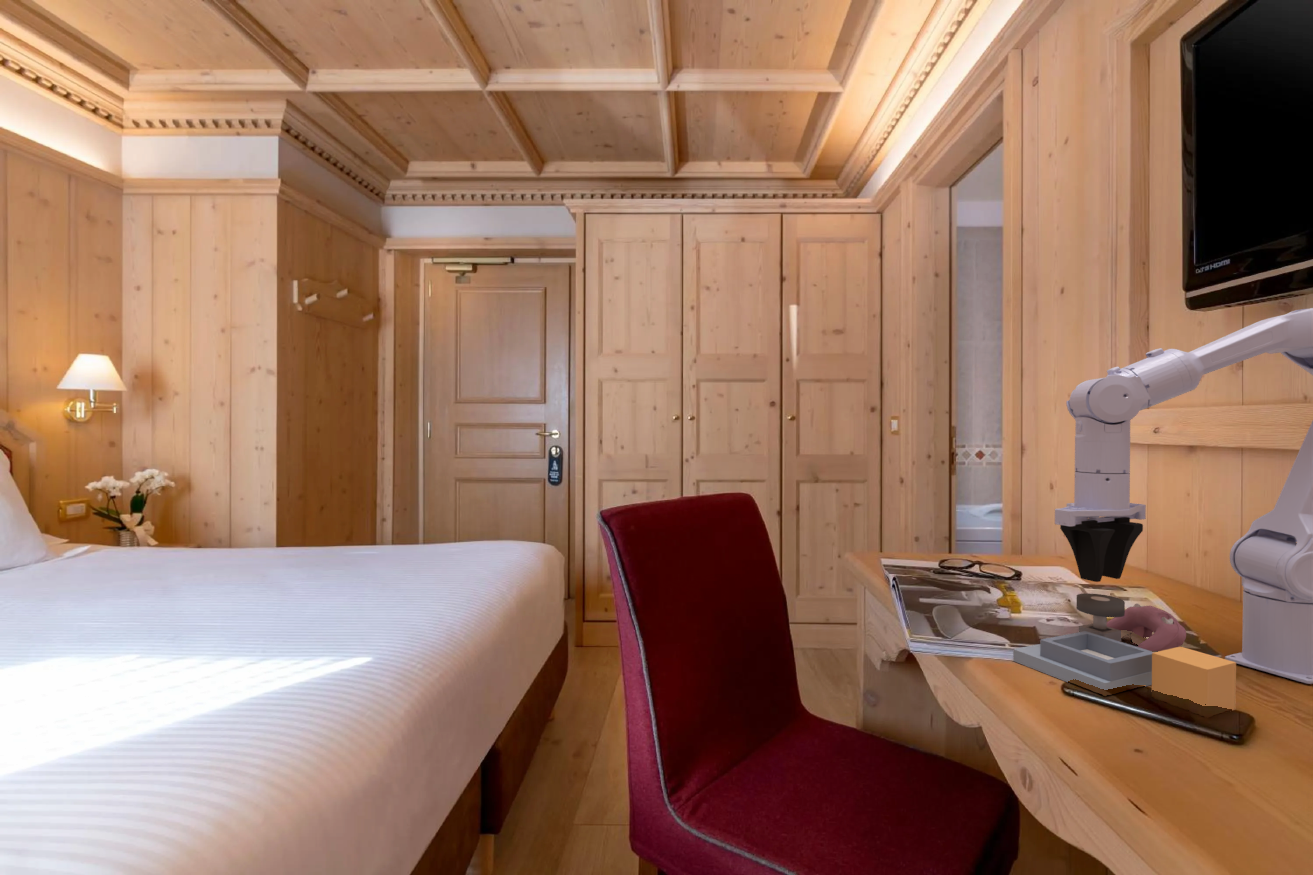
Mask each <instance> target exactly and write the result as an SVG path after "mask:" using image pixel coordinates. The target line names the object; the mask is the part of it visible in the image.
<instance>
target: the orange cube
mask: <svg viewBox="0 0 1313 875" xmlns="http://www.w3.org/2000/svg"><path fill="white" fill-rule="evenodd" d="M1236 686H1237V663H1236V662H1233V661H1229V660H1226V659H1225V658H1222V657H1219V656H1216V655H1211V654H1208V653H1204V652H1202V651H1199V650H1198V651H1197V650H1194V649H1191V648H1188V647H1183V646H1180V647H1176V648H1172V649H1167V650H1163V651H1158V652H1154V653H1152V685H1151V691H1152V690H1154V691H1158V692H1161V693H1163V694H1167V695H1173V696H1177V697H1179V698H1183V699H1189V700H1191V701H1193V702H1194V703H1197V704H1200V705H1202V706H1218V707H1222V708H1227V709H1232V711H1235V710H1236V705H1237V704H1236V703H1237V702H1236V698H1237V696H1236V694H1237V692H1236V691H1237V689H1236V688H1237V687H1236ZM1205 704H1206V705H1205Z"/></svg>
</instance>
